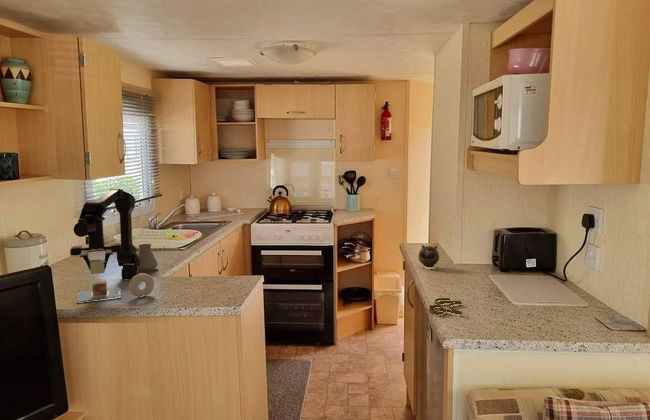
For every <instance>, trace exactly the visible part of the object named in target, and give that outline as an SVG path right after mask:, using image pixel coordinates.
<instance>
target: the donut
mask: <svg viewBox="0 0 650 420" xmlns="http://www.w3.org/2000/svg"><path fill="white" fill-rule="evenodd" d="M143 282H144V283H145V287H143V288H139V287H138V285H140V284H139V283H143ZM154 288H155V280H154V279H153V277H152V276H151V275H150V274H148V273H146V272H139V273H137V275H135V276H134V277H133V278H132V279H131V280H130V281H129V284H128V289H129V292H130V293H131V295H133V296H134V297H136V296H143V295H147V294H149V295H150V294H151V293H152V292H153V290H154ZM147 296H148V295H147Z"/></svg>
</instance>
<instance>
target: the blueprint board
mask: <svg viewBox="0 0 650 420" xmlns="http://www.w3.org/2000/svg"><path fill="white" fill-rule="evenodd" d="M117 288H118V289H117ZM119 289H120V287H113V288H107V295H102V296H93V289H92V290H84V291H83V290H82V291H79V294H78V297H77V302H76V304H77V303H78V302H86V301H93V300H100V299H108V298H115V297H119V296H121V297H122V294H121V295H119V294H118V293H119V292H118V291H120V290H119ZM114 294H115V295H114ZM117 294H118V295H117Z"/></svg>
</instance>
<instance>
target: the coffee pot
mask: <svg viewBox="0 0 650 420" xmlns="http://www.w3.org/2000/svg"><path fill="white" fill-rule="evenodd" d="M133 246H134V247H135V249H136V251H138V252H137V255H138V256H139V258H140V259H141V264H140V266H137V273H138V272H139V273H150V272H153V271H155V269H157V267H158V265H159V263H158V261H157V259H156V257H155V255H154V254H153V253H154V252H153V251H152V249H151V247H152V246H153V245H152V244H151V243H143V244H141V243H140V244H139V245H137V247H136V246H135V245H134V244H133Z"/></svg>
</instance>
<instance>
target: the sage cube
mask: <svg viewBox="0 0 650 420" xmlns="http://www.w3.org/2000/svg"><path fill="white" fill-rule="evenodd" d="M104 262H105V258H94V259H90V269H91V271H90V275H97V274H99V275H100V274H105V271H106V269H104ZM90 269H89V270H90Z"/></svg>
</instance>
